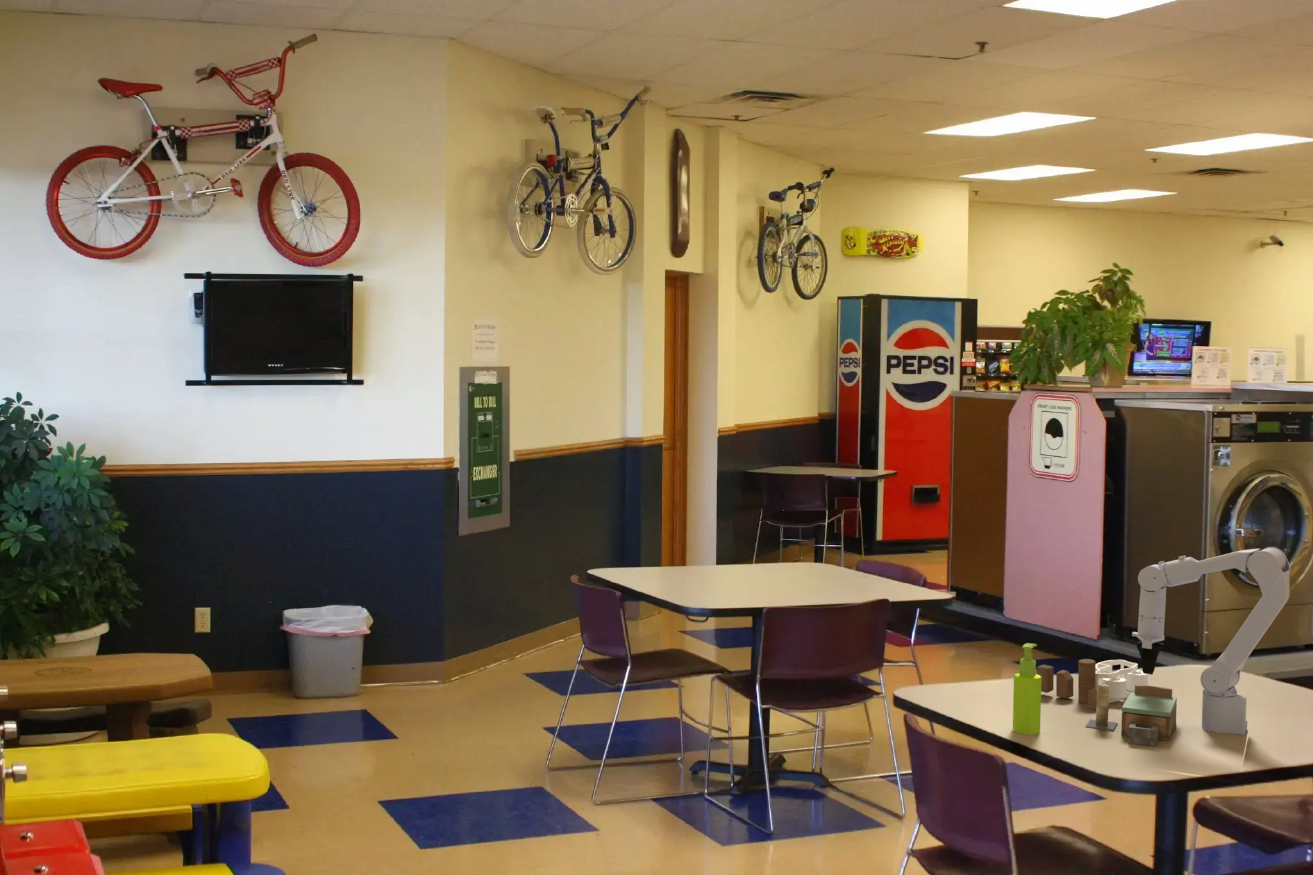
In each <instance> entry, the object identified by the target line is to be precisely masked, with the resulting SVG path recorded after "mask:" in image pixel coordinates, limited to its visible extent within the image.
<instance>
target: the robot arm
mask: <svg viewBox="0 0 1313 875" xmlns="http://www.w3.org/2000/svg"><path fill="white" fill-rule="evenodd" d="M1291 568H1292V567H1291V565H1290V563H1289V560H1288V558H1287V555H1286V554H1285V553H1284V551H1282V550H1281V549H1279V548H1278V547H1275V546H1268V547H1265V548H1263V549H1262V550H1261V548H1250V549H1243V550H1237V551H1233V552H1230V553H1229V552H1228V553H1225V554H1222V555H1217V556H1213V557H1209V558H1205V559H1203V560H1197V559H1195V558H1194V557H1192V556H1188V557H1187V556H1186V555H1181V556H1178V559H1174V560H1170V561H1166V562H1165V560H1161V561H1158V564H1152V565H1148V566H1146V567H1144V568H1142V569H1141V570H1140V571H1139V573H1138V576H1137V581H1138V584H1139V586H1140V595H1139V606H1138V622H1137V632H1136V631H1132V632H1131V633H1132V634H1131V636H1132V637H1136V638H1137V639H1138V640H1140V641H1137V642H1136V648H1137V650H1138V652H1139V656H1140V661H1141V669H1142V670H1141V671H1143V673H1144V674H1148V675H1150V676H1151V675H1153V674H1154V672H1155V669H1156V666H1157V665H1156V664H1157V660H1158V657H1159V654H1160V652H1161V650H1162V649H1163V647H1164V643H1163V642H1162V641H1165V635H1164V634H1165V620H1166V602H1167V597H1166V595H1167V587H1169V588H1172V587H1176V586H1181V585H1186V584H1191V583H1195V582H1199V580H1200V578H1201V576H1202V575H1205V574H1209V573H1216V572H1221V571H1225V570H1226V571H1227V570H1232V569H1237V570H1239V571H1241V572H1243V573H1247V572H1250V575H1251V576H1252V577H1253V578H1254V579H1255V581H1256V582H1257V583H1258V586H1259V589H1260V591H1261V594H1262V595H1261V597H1260V599H1259V600H1258V601H1257V603H1256V604H1255V606H1254V608H1253V609H1252V610H1251V612H1250V613H1249V614H1248V616H1247V617H1246V619H1245V620H1244V622H1243V623H1242V625H1241V626H1240V627H1239V629H1238V631H1237V632H1236V633H1235V635H1234V636H1233V638H1232V639H1231V641H1230V642H1229V644H1228V645H1227V646H1226V648H1225V650H1224V651H1223V652H1222V653H1221V654H1220V656H1218V658H1216V660H1215V662H1214V663H1213V664H1212V665H1210V666H1209V667H1206V668H1205V669H1203V671H1202V672H1201V674H1200V679H1199V680H1200V684H1201V686H1202V699H1201V700H1202V701H1201V702H1202V704H1201V705H1202V706H1201V707H1202V708H1201V728H1202V729H1203V730H1205V731H1207V732H1214V733H1219V734H1220V733H1222V734H1232V735H1242V736H1243V735H1245V734H1246V730H1248V721H1247V704H1248V703H1247V696H1246V695H1241V694H1238V690H1237V688H1236V687H1235V686H1236V685H1238V683H1239V681H1240V678H1241V671H1242V669H1243V668H1244V666H1245V663H1246V661H1247V660H1248V658H1249V656H1250V655H1251V654H1252V652H1253V651H1254V649H1255V648H1256V646H1257V645H1258V644H1259V642H1260V641H1261V639H1262V638H1263V636H1264V635H1265V633H1266V632H1267V631H1268V629H1269V628H1270V626H1271V625H1272V624H1273V622H1274V621H1275V619H1276V617H1277V616H1278V615H1279V613H1280V612H1281V611H1282V609H1283V608H1284V606H1285V605H1286V604H1287V602H1288V601H1289V599H1290V591H1291V590H1290V573H1291Z"/></svg>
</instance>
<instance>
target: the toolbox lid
mask: <svg viewBox="0 0 1313 875" xmlns="http://www.w3.org/2000/svg"><path fill="white" fill-rule="evenodd" d="M1177 701H1178V697H1176V696H1173V688H1172V687H1161V686H1154V685H1148V686H1145V685H1135V693H1133V692H1131V693H1130V695H1129V696H1128V698H1126V700H1125V702H1124V703H1123V705H1122V706H1121V713H1122V712H1129V713H1137V714H1146V715H1155V716H1163V717H1170V716H1171V714H1172V711H1173V709H1174V707H1175V704H1176V703H1177Z"/></svg>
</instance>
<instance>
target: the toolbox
mask: <svg viewBox="0 0 1313 875" xmlns="http://www.w3.org/2000/svg"><path fill="white" fill-rule="evenodd" d="M1177 704H1178V703H1177V702H1176V704H1175V707H1174V709H1173V711H1172V714H1171V716H1170V717H1163V716H1155V715H1146V714H1137V713H1129V712H1122V711H1121V730H1120V731H1121V732H1120V735H1121V736H1125V737H1127V738H1128V742H1127V743H1128V744H1133V745H1140V746H1148V747H1149V746H1150V747H1156V746H1157V744H1158V742H1159V741H1163V742H1164V741H1165V742H1170V741H1171V738H1172V735H1173V733H1174V732H1175V728H1176V725H1177Z"/></svg>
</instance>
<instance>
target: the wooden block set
mask: <svg viewBox="0 0 1313 875" xmlns="http://www.w3.org/2000/svg"><path fill="white" fill-rule="evenodd" d="M1096 664H1097V663H1096V660H1094V659H1092V658H1091V659H1090V658H1083V659H1079V660H1078V666H1077V667H1078V672H1077V674H1078V675H1077V676H1078V694H1077V696H1078V699H1077V700H1078V702H1079V703H1082V704H1085V705H1088V706H1093V707H1097V690H1096V689H1095V683H1096ZM1036 674H1038V675H1040V676H1041V693H1046V694H1048V693H1050V692H1052V691H1054V666H1052V665H1047V664H1041V665H1039V666H1037V667H1036ZM1055 675H1056V677H1055V678H1056V680H1055V681H1056V683H1055V684H1056V687H1055V688H1056V692H1055V693H1056V694H1055V695H1056V697H1057V698H1061V699H1066V700H1067V699H1069V698H1071V697H1074V677H1073V676H1072V674H1071V673H1070V672H1069V671H1068V670H1065V669H1062V670H1059V671H1057V672H1056V674H1055Z"/></svg>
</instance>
